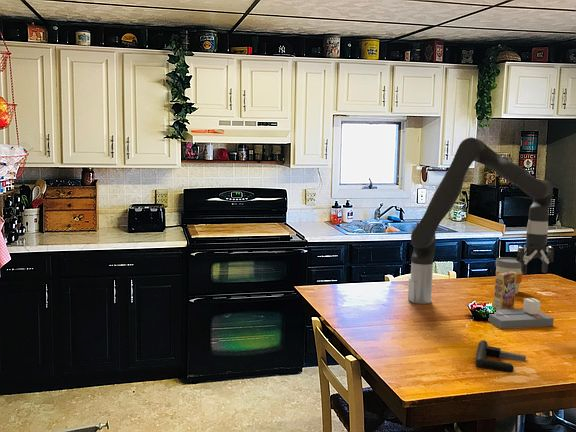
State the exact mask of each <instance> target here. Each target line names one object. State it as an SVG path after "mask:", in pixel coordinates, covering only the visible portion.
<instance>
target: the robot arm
mask: <svg viewBox="0 0 576 432" xmlns="http://www.w3.org/2000/svg"><path fill="white" fill-rule="evenodd" d="M473 162H476V163H479V164H482V165H485V166H486V167H488V168H490V169H491V170H492V171H494V172H495V173H496V174H498V175H499V176H500V177H501V178H503V179H504V180H506V181H507V182H509V183H511V184H513V185H514V186H515V187H518V188H519V189H520V190H521V191H522V192H523V193H525V194H526V195H527V196H529V197H531V198H533V200H532V204H531V205H530V207H529V208H528V209H529V210H528V221H527V225H526V237H525V243H526V246H525V247H523V246H518V247H517V254H516V258H517V262H520V263H521V272H522V273H523V275H526V274H527V273H528V263H529V262H530V261H531V260H533V259H540V260H541V262H542V263H541V273H543V274H547V273H548V271H549V270H548V269H549V268H548V267H549V264H550V263H553V262H554V252H555V250H554V247H553V246H551V245H548V246H547V244H548V236H549V235H548V233H549V210H550V206H551V203H552V199H553V193H554V191H553V189H554V188H553V185H552V183H551V182H550V181H548V180H546V179H541V180H540V179H537V178H536V177H534V176H532V175H531V173H530V171H528V170H526V169H525V168H523V167H521V166H519V165H518V164H516V163H514V162H512V161H510V160H509V159H507V158H505V157H503V156H501V155H500V154H498V153H497V152H495V151H494V150H493V149H492V148H491V147H490V146H488V145H487V144H486V143H485V142H484V141H482V140H481V139H479V138H476V137H473V136H471V137H470V136H469V137H467V138H464V139H463V140H461V142H460V144H459V145H458V147H457V149H456V152H455V154H454V157H453V159H452V161H451V163H450V165H449V167H448V169H447V170H446V173H445V174H444V176H443V178H442V179H441V181H440V183H439V184H438V186H437V188H436V189H435V191H434V194H433V196H432V197H431V199H430V202H429V204H428V206H427V209H426V210H425V213H424V215H423V216H422V218H421V220H420V221H419V222H418V224H417V225H416V227H415V228H414V229H413V230H412V232H411V236H410V240H411V241H410V242H411V243H412V245H413V250H412V255H411V258H410V260H411V261H410V262H411V264H410V265H411V266H410V278H408V287H407V288H408V289H407V290H408V291H407V292H408V293H407V300H408V301H410V302H411V303H413V304H422V305H425V304H426V305H427V304H431V302H432V299H433V298H432V297H433V296H432V293H433V270H434V257H435V251H436V231H437V230H438V227H439V225H440V223H441V222H442V221H443V219H444V218H445V217H446V215H447V214H448V213H449V212H450V211H451V210H452V208H453V206H454V205H455V204H456V201H457V200H458V198H459V197H460V195H461V191H462V189H463V185H464V179H465V176H466V173H467V172H468V170H469V168H470V167H471V165H472V164H473Z"/></svg>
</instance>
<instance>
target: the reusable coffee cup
mask: <svg viewBox="0 0 576 432" xmlns="http://www.w3.org/2000/svg"><path fill="white" fill-rule="evenodd" d="M494 265H495V268H496V270H495V274H496V273H502V272H508V271H511V272H515V273H517V276H516V287H515V295H516V294H519V290H520V285H521V283H522V279H523V275H524V273H522V272H521V263H520V262H517V257H509V256H507V257H505V256H504V257H503V256H502V257H497V258H496V259H495V263H494Z"/></svg>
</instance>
